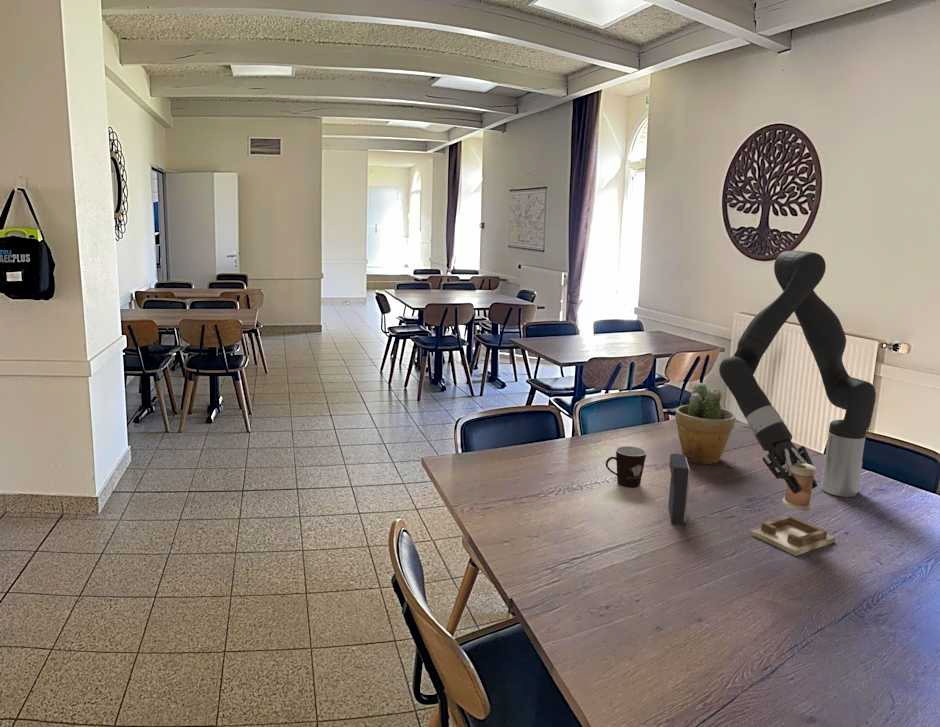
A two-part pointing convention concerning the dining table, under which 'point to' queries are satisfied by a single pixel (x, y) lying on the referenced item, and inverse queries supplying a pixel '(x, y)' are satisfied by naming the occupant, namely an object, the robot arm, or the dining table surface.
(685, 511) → the calculator
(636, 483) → the coffee mug
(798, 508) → the bobbin
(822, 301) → the robot arm
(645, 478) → the dining table surface
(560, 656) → the dining table surface
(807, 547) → the board
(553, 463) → the dining table surface
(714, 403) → the potted plant
